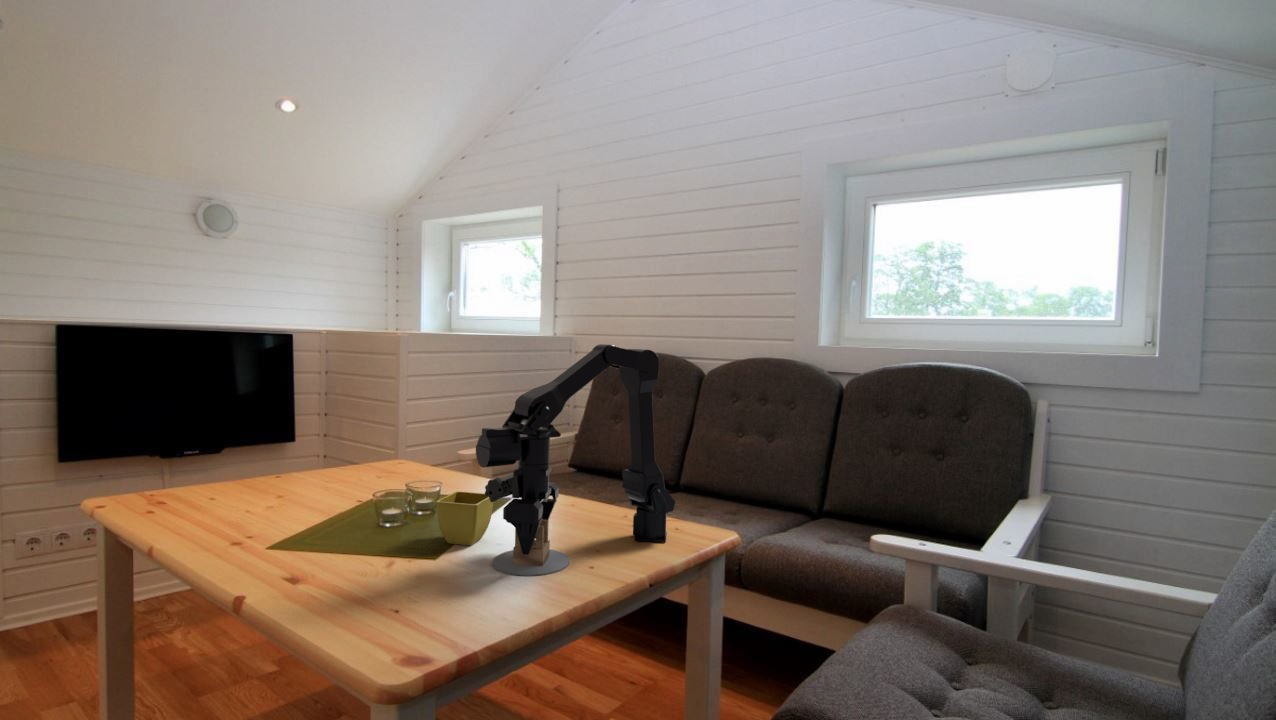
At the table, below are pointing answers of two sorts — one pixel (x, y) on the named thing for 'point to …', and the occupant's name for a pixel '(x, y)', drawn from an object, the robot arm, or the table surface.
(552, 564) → the mat
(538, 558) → the stool
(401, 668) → the table surface
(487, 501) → the flower pot
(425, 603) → the table surface
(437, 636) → the table surface
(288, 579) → the table surface
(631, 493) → the robot arm
